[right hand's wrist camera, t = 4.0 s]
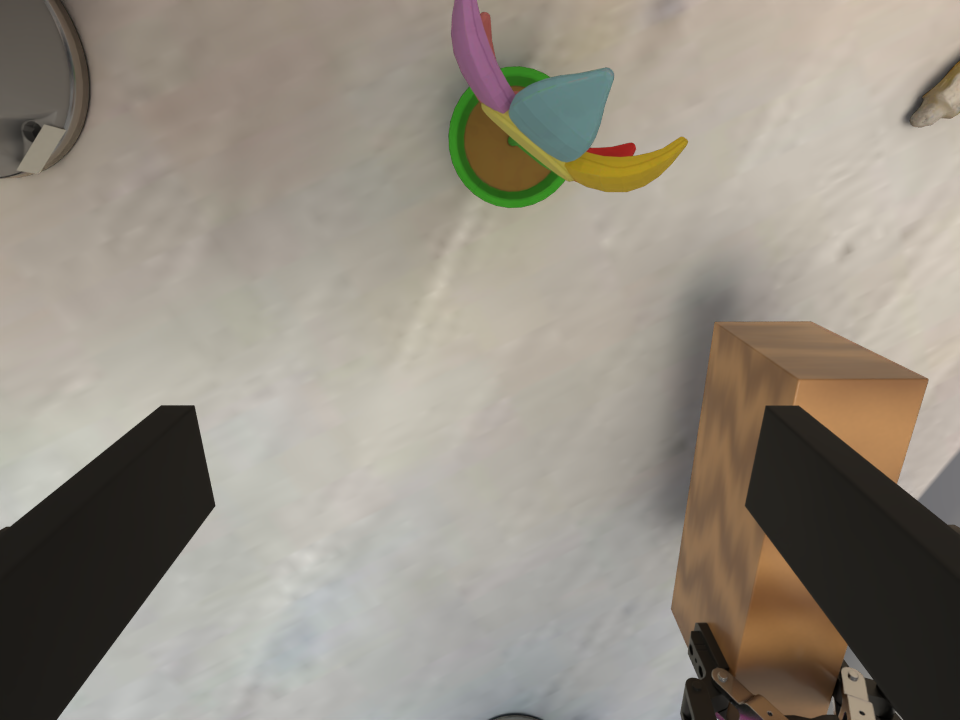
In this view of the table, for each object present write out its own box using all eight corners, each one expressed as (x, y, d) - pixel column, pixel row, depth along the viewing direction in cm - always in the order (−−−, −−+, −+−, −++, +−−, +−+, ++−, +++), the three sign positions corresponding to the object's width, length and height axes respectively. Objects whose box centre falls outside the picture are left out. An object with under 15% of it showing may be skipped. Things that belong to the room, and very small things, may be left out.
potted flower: (592, 134, 39) (765, 113, 15) (522, 225, 41) (579, 327, 17) (486, 42, 36) (497, -148, 13) (419, 142, 39) (326, 132, 15)
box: (714, 321, 35) (798, 379, 26) (811, 321, 35) (930, 378, 26) (670, 609, 43) (722, 730, 34) (749, 608, 43) (822, 729, 34)
